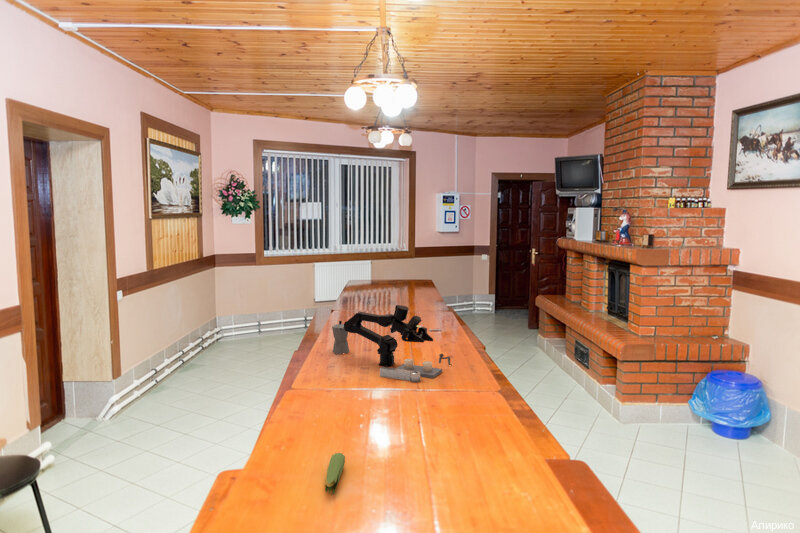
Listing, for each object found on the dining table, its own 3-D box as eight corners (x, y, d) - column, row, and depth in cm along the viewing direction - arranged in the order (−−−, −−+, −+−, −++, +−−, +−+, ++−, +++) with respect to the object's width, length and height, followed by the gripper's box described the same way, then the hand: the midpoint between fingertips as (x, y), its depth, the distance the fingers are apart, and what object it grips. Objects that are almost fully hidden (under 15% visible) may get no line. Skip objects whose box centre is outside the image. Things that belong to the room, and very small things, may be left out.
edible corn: (348, 450, 162) (334, 446, 162) (338, 486, 142) (322, 481, 142) (344, 465, 162) (330, 461, 162) (333, 503, 143) (317, 498, 143)
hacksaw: (439, 355, 283) (439, 353, 282) (458, 356, 281) (458, 353, 281) (437, 369, 259) (437, 366, 259) (458, 369, 258) (458, 366, 257)
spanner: (378, 377, 246) (378, 368, 245) (383, 374, 250) (383, 365, 250) (417, 383, 237) (417, 374, 237) (422, 379, 241) (422, 371, 241)
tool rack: (393, 372, 252) (393, 361, 252) (403, 366, 262) (403, 355, 262) (433, 378, 243) (433, 367, 242) (442, 371, 253) (442, 360, 252)
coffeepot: (349, 355, 284) (349, 322, 282) (332, 355, 283) (331, 323, 281) (348, 347, 299) (348, 317, 297) (332, 348, 298) (331, 317, 296)
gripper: (398, 313, 249) (424, 326, 241) (417, 313, 265) (442, 325, 257) (391, 334, 250) (416, 348, 242) (410, 333, 266) (435, 345, 258)
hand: (428, 341), depth 250 cm, fingers open, 9 cm apart
